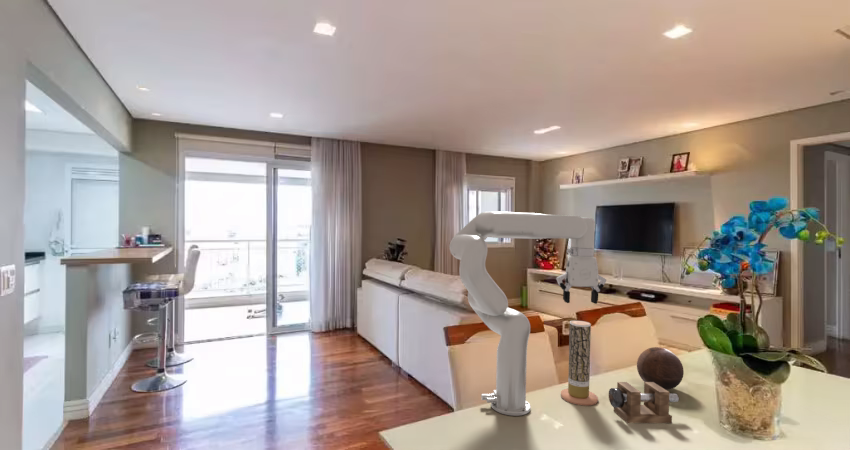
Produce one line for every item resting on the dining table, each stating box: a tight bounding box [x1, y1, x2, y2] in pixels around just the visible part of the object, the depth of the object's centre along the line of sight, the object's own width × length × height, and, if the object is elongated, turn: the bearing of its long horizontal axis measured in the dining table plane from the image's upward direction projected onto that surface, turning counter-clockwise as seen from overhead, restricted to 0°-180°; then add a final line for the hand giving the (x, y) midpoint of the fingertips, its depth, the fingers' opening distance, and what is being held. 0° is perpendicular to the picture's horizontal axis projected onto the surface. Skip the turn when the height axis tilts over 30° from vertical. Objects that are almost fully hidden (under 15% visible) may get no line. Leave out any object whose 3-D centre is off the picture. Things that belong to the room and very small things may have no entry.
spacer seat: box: [560, 388, 599, 407], centre depth 142 cm, size 12×12×1 cm
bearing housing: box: [613, 381, 673, 424], centre depth 129 cm, size 14×8×9 cm, turn 94°
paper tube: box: [567, 320, 592, 398], centre depth 142 cm, size 7×7×25 cm
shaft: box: [608, 387, 680, 409], centre depth 129 cm, size 20×6×6 cm, turn 94°
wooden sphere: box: [636, 346, 684, 391], centre depth 152 cm, size 15×15×15 cm
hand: (580, 302), depth 142 cm, fingers open, 9 cm apart
